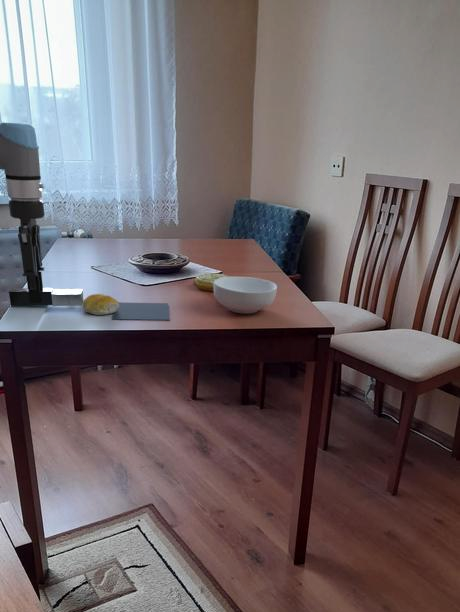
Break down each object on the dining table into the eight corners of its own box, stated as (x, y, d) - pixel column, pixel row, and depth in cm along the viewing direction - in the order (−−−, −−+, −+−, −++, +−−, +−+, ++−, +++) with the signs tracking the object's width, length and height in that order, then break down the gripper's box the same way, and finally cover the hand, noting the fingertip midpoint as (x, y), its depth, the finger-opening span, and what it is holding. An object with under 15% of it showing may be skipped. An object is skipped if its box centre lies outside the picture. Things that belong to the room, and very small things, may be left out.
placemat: (112, 319, 134) (112, 319, 134) (115, 303, 147) (115, 302, 147) (169, 320, 136) (169, 319, 136) (168, 303, 149) (168, 303, 149)
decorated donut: (234, 292, 162) (234, 280, 160) (197, 292, 160) (198, 279, 158) (227, 283, 171) (228, 271, 169) (193, 283, 169) (193, 270, 167)
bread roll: (102, 303, 145) (100, 288, 144) (124, 310, 140) (123, 295, 139) (75, 310, 140) (74, 294, 138) (97, 317, 135) (96, 301, 133)
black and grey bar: (10, 306, 134) (7, 292, 133) (14, 301, 138) (12, 287, 137) (81, 305, 137) (80, 291, 135) (83, 300, 140) (82, 287, 139)
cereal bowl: (284, 318, 143) (286, 291, 140) (222, 320, 139) (223, 292, 135) (262, 299, 157) (264, 274, 154) (205, 301, 153) (206, 275, 150)
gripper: (36, 204, 119) (47, 309, 130) (48, 195, 134) (57, 291, 144) (0, 203, 118) (14, 309, 129) (16, 194, 133) (27, 290, 143)
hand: (36, 299), depth 137 cm, fingers closed on black and grey bar, 3 cm apart
